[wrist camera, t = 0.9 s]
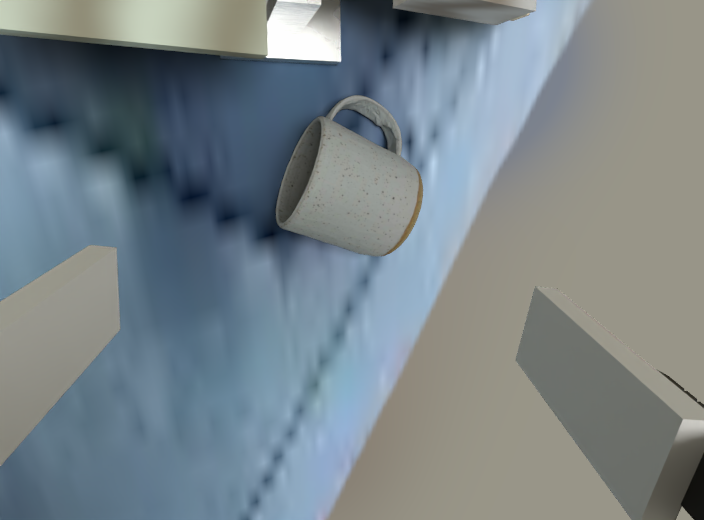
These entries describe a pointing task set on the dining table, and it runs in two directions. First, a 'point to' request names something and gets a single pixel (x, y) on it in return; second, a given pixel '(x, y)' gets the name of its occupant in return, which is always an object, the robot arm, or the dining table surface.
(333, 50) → the stand
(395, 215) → the ceramic mug
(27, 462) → the dining table surface
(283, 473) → the dining table surface
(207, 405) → the dining table surface
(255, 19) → the balance beam
